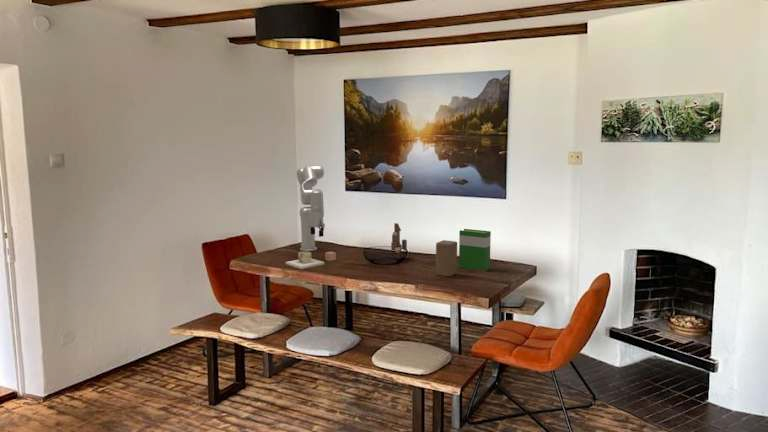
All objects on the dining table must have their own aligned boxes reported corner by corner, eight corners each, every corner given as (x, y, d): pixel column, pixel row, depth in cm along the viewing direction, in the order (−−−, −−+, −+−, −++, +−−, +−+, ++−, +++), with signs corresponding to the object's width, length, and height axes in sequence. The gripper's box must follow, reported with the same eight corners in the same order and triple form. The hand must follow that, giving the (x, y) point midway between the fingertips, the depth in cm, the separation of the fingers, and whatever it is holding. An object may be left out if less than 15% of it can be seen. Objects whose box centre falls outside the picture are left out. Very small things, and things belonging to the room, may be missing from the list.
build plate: (285, 264, 367) (285, 261, 367) (308, 259, 379) (308, 257, 379) (301, 268, 354) (301, 266, 354) (324, 264, 366) (324, 261, 366)
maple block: (298, 261, 366) (298, 252, 366) (306, 260, 370) (306, 251, 370) (303, 263, 362) (303, 254, 361) (311, 261, 366) (311, 252, 365)
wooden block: (450, 277, 331) (450, 244, 328) (435, 275, 336) (435, 242, 333) (457, 273, 339) (457, 241, 336) (442, 271, 345) (442, 239, 342)
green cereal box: (458, 268, 354) (459, 230, 350) (464, 265, 360) (464, 228, 357) (485, 271, 344) (485, 233, 341) (489, 269, 351) (490, 231, 347)
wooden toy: (399, 262, 369) (399, 225, 365) (389, 262, 371) (389, 224, 368) (407, 257, 383) (407, 221, 379) (398, 257, 386) (398, 221, 382)
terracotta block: (325, 259, 379) (325, 252, 378) (331, 258, 382) (331, 251, 382) (329, 261, 375) (329, 253, 375) (335, 259, 379) (335, 252, 378)
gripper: (304, 208, 371) (305, 234, 374) (319, 211, 358) (319, 238, 361) (313, 207, 376) (314, 232, 379) (328, 210, 363) (329, 236, 366)
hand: (317, 235), depth 370 cm, fingers open, 9 cm apart
